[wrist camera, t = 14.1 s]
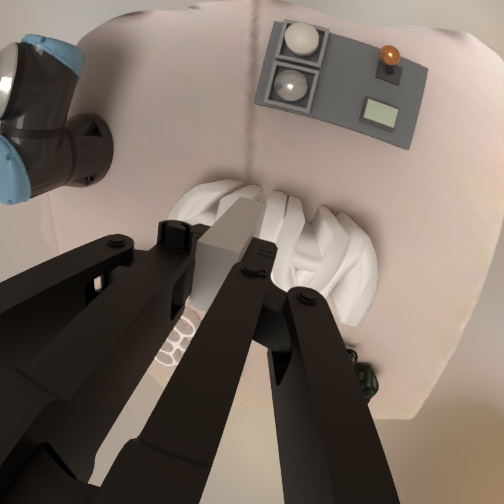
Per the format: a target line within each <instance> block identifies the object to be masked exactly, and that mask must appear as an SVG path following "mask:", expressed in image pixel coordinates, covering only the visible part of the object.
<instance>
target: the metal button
mask: <svg viewBox="0 0 504 504" xmlns="http://www.w3.org/2000/svg"><path fill="white" fill-rule="evenodd" d="M274 87H275V90H276V92H277V94H278V95H279V96H280V97H281V98H282V99H283V100H285V101H287V102H298V101H300V100H302V99H303V98H304V97H305V96H306V94H307V91H308V85H307V80H306V78H305V77H304V75H302V74H301V73H300V72H298V71H295V70H286V71H283V72H281V73H280V74H279V75H278V76H277V77H276V79H275V82H274Z"/></svg>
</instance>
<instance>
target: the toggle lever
mask: <svg viewBox="0 0 504 504" xmlns="http://www.w3.org/2000/svg"><path fill="white" fill-rule="evenodd" d="M379 55H380V58H381V60H382V61H383V62H384V63H385V64H386V72H387V73H388V74H390V75H391V74H393V73H394V65H395V64H397V63H398V62H399V61H400V53H399V51H398V50H397V49H396V48H395V47H393V46H384V47H382V48H381V50H380V53H379Z"/></svg>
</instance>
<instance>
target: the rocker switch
mask: <svg viewBox="0 0 504 504" xmlns="http://www.w3.org/2000/svg"><path fill="white" fill-rule="evenodd" d="M397 113H398V109H396V108H393V107H390V106H388V105H385V104H382V103H379V102H376V101H373V100H370V99H368V102H367V106H366V110H365V114H364V118H365V119H368V120H371V121H374V122H377V123H380V124H383V125H385V126H388V127H391V128H394V125H395V121H396V117H397Z"/></svg>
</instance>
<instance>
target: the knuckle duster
mask: <svg viewBox="0 0 504 504" xmlns="http://www.w3.org/2000/svg"><path fill="white" fill-rule="evenodd" d="M180 318H183V319H185V320H187V321H188V322H189V323H190V324H191V325H192V327H189V326H187V325H185V324H184V323H183V322H182V321H181V319H179V321H178V322H177V324H176V325H175V327H174V329H175V330H176V331H177V332H178V334H176V333H174V332H173V331H171V333H170V335H169V336H168V338H167V339H166V340H167V341H169V342H170V343H171V344H170V343H167V342H164V344H163V345H162V347H161V349H160V350H159V352H158V353H157V355H156V356H155V359H156V360H157V361H158V362H159V363H161V364H163V365H166V366H172V365H174V364H175V365H178V364H179V362H180V360H181V358H182V356H183V355H181V354H180V352H179V350H178V349H181V350H182V351H184V352H185V351H186V349H187V347H188V345H189V344H190V342H189V341H188V340H186V339H185V337H193V336H194V335H195V333H196V331H197V329H198V327H199V325H200V320H199V317H198V316H197V314H196V313H195V312H194V311H192V310H191V309H188V308H185V309H184V313H183V314H182V316H181V317H180ZM163 352H164V353H163ZM165 353H166V354H168V355H166V354H165ZM169 355H170V356H169Z"/></svg>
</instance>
